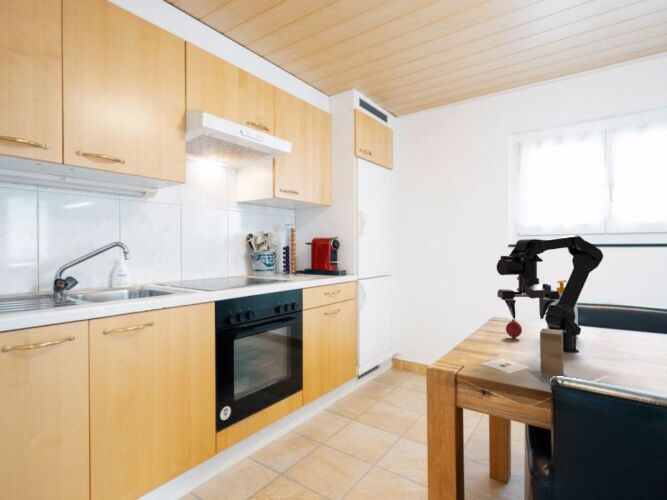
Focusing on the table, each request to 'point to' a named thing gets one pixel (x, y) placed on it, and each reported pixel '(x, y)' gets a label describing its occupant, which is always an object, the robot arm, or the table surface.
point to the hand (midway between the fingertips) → (527, 318)
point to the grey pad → (538, 375)
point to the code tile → (505, 365)
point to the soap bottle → (560, 290)
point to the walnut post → (551, 353)
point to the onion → (513, 329)
